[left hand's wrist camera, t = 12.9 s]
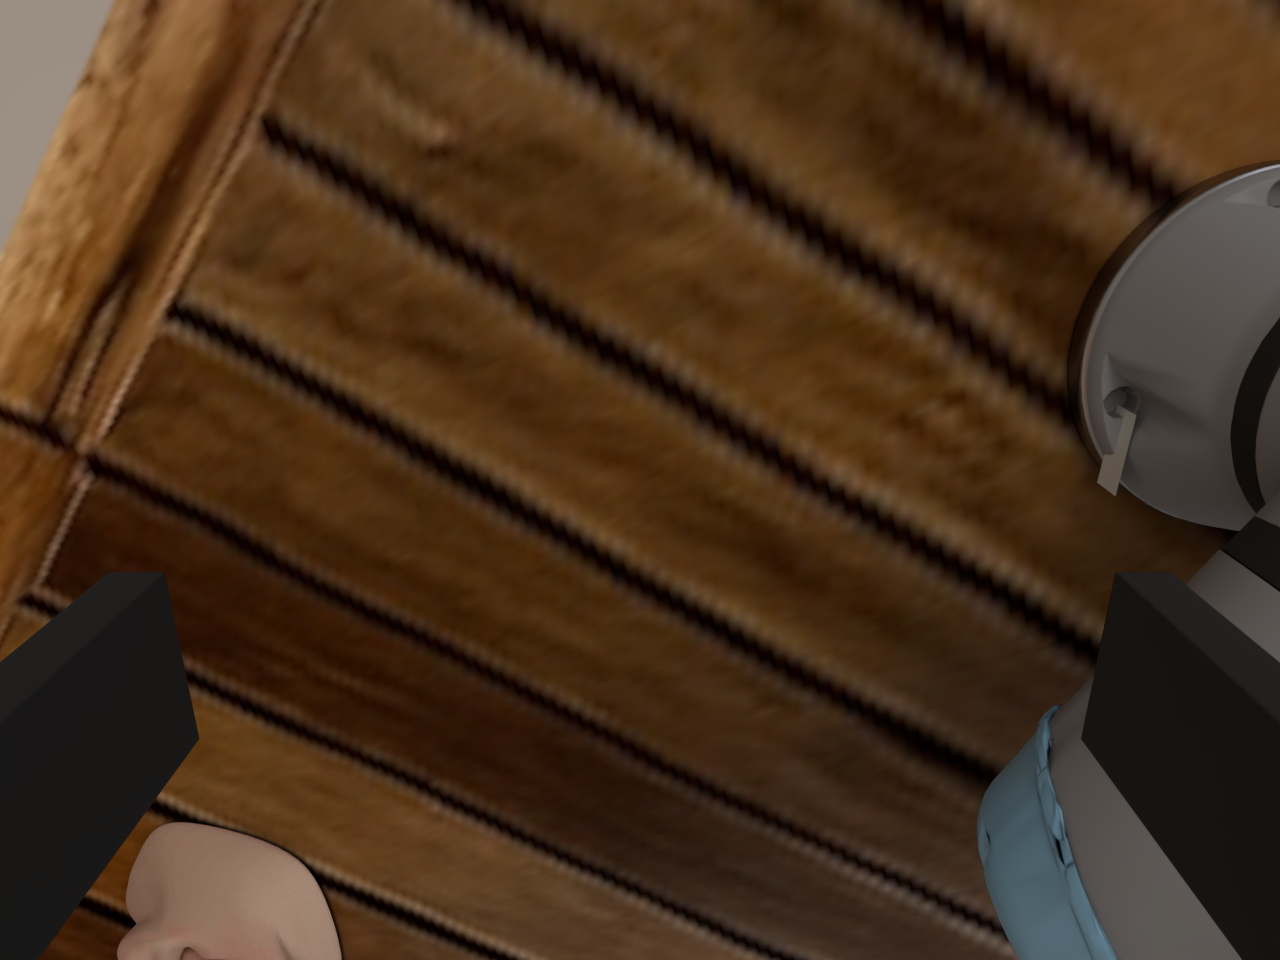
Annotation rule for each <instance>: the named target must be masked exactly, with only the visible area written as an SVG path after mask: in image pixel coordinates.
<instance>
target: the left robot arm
mask: <svg viewBox="0 0 1280 960" xmlns="http://www.w3.org/2000/svg"><path fill="white" fill-rule="evenodd" d="M1068 377H1069V394H1070V401H1071V407H1072V411H1073V415H1074V419H1075V422H1076V425H1077V428H1078V430H1079V433H1080V435H1081V438H1082V439H1083V441H1084V443H1085V445H1086V447H1087V449H1088V450H1089V452H1090V453H1091V455H1092V456H1093V458H1094V459H1095V460H1096V462H1097V463H1098V464H1099V465H1100V466H1101V470H1100V474H1099V478H1098V482H1097V483H1098V484H1100V485H1101V486H1102V487H1104V488H1105V489H1106V490H1108V491H1109V492H1110V493H1112V494H1113V495H1114V496H1116V493H1117V489H1118V485H1119V484H1120V485H1121V486H1123V487H1124V488H1125V489H1127V490H1128V491H1130V492H1131V493H1132V494H1134V495H1135V496H1136V497H1138V498H1139V499H1141V500H1142V501H1144V502H1145V503H1147V504H1148V505H1150V506H1152V507H1154V508H1156V509H1158V510H1160V511H1161V512H1164V513H1166V514H1169V515H1171V516H1174V517H1177V518H1180V519H1184V520H1187V521H1190V522H1194V523H1198V524H1201V525H1207V526H1212V527H1218V528H1224V529H1230V530H1236V531H1239V532H1238V533H1237V534H1236V535H1235V536H1234V537H1233V538H1232V539H1231V540H1230V541H1229V542H1228V543H1227V544H1226V545H1225V546H1224V547H1223V548H1221V550H1218V551H1217V552H1216V553H1215V554H1214V555H1213V556H1212V557H1211V558H1210V559H1209V560H1208V561H1207V562H1206V563H1205V564H1204V565H1203V566H1202V568H1201V569H1200V570H1199V571H1198V572H1197V573H1196V574H1195V575H1194V576H1193V577H1192V578H1191V579H1190V580H1189V581H1188V582H1187V583H1186V584H1184V583H1183V582H1182V581H1181V580H1179V579H1178V578H1177V577H1176V576H1175V575H1173V574H1172V573H1115V577H1114V582H1113V587H1112V592H1111V596H1110V601H1109V606H1108V611H1107V616H1106V620H1105V625H1104V630H1103V635H1102V639H1101V644H1100V649H1099V654H1098V659H1097V663H1096V668H1095V673H1094V675H1093V676H1092V677H1091V678H1090V679H1089V680H1088V681H1087V682H1086V683H1085V684H1084V685H1083V686H1082V687H1081V688H1080V689H1079V690H1078V691H1077V692H1076V693H1075V694H1074V695H1073V696H1072V697H1071V698H1070V699H1069V700H1068V701H1067V702H1066V703H1065V704H1064V705H1059V706H1054V705H1053V706H1052V707H1051V708H1050V709H1049V710H1048V711H1047V712H1045V713H1044V715H1043V716H1042V717H1041V719H1040V721H1039V723H1038V725H1037V730H1036V733H1035V734H1034V735H1033V736H1032V737H1031V739H1030V740H1029V741H1028V742H1027V743H1026V744H1025V745H1024V746H1023V748H1022V749H1021V750H1020V751H1019V752H1018V753H1017V754H1016V755H1015V757H1014V758H1013V759H1012V760H1011V761H1010V762H1009V763H1008V764H1007V766H1006V767H1005V768H1004V769H1003V770H1002V771H1001V772H1000V773H999V775H998V776H997V777H996V778H995V779H994V780H993V781H992V783H991V784H990V786H989V787H988V789H987V790H986V792H985V794H984V797H983V799H982V802H981V806H980V809H979V814H978V820H977V837H978V850H979V854H980V858H981V861H982V864H983V867H984V876H985V883H986V886H987V889H988V892H989V895H990V897H991V900H992V903H993V905H994V908H995V910H996V913H997V915H998V918H999V920H1000V922H1001V925H1002V927H1003V929H1004V931H1005V933H1006V935H1007V938H1008V940H1009V942H1010V944H1011V945H1012V947H1013V949H1014V951H1015V953H1016V955H1017V957H1018V959H1019V960H1280V160H1275V161H1267V162H1260V163H1256V164H1251V165H1247V166H1243V167H1239V168H1236V169H1233V170H1230V171H1227V172H1224V173H1221V174H1219V175H1217V176H1214V177H1212V178H1209V179H1207V180H1205V181H1203V182H1201V183H1199V184H1197V185H1195V186H1193V187H1191V188H1190V189H1188V190H1186V191H1184V192H1183V193H1181V194H1180V195H1178V196H1177V197H1175V198H1173V199H1172V200H1170V201H1169V202H1168V203H1166V204H1165V205H1164V206H1162V207H1161V208H1160V209H1158V210H1157V211H1156V212H1154V213H1153V214H1152V215H1151V216H1150V217H1149V218H1147V219H1146V220H1145V221H1144V222H1143V223H1142V224H1141V225H1140V226H1138V227H1137V228H1136V230H1135V231H1134V232H1133V233H1132V234H1131V235H1130V236H1129V237H1128V238H1127V239H1126V240H1125V241H1124V242H1123V243H1122V245H1121V246H1120V247H1119V248H1118V250H1117V251H1116V252H1115V253H1114V254H1113V256H1112V257H1111V258H1110V260H1109V261H1108V263H1107V264H1106V266H1105V267H1104V269H1103V270H1102V272H1101V273H1100V275H1099V276H1098V278H1097V280H1096V282H1095V283H1094V285H1093V287H1092V289H1091V291H1090V293H1089V295H1088V297H1087V299H1086V301H1085V304H1084V306H1083V308H1082V311H1081V314H1080V317H1079V319H1078V322H1077V325H1076V329H1075V333H1074V337H1073V341H1072V346H1071V352H1070V359H1069V376H1068ZM1238 562H1239V563H1238ZM1245 567H1246V568H1245ZM1248 569H1249V570H1248ZM1252 572H1253V573H1252ZM198 740H199V735H198V730H197V726H196V721H195V716H194V711H193V706H192V702H191V697H190V692H189V687H188V683H187V678H186V673H185V668H184V663H183V659H182V654H181V649H180V644H179V639H178V635H177V630H176V625H175V620H174V616H173V611H172V606H171V601H170V596H169V592H168V587H167V582H166V577H165V573H108V574H107V575H105V576H104V577H103V578H102V579H101V580H99V581H98V582H97V583H96V584H95V585H93V586H92V587H91V588H90V589H89V590H87V591H86V592H85V593H84V594H82V595H81V596H80V597H79V598H78V599H76V600H75V601H74V602H73V603H72V604H70V605H69V606H68V607H67V608H65V609H64V610H63V611H62V612H61V613H59V614H58V615H57V616H56V617H55V618H53V619H52V620H51V621H50V622H49V623H47V624H46V625H45V626H44V627H42V628H41V629H40V630H39V631H38V632H36V633H35V634H34V635H33V636H32V637H30V638H29V639H28V640H27V641H25V642H24V643H23V644H22V645H21V646H19V647H18V648H17V649H16V650H15V651H13V652H12V653H11V654H10V655H8V656H7V657H6V658H5V659H4V660H2V661H1V662H0V960H38V959H39V958H40V956H41V955H42V954H43V952H44V951H45V950H46V948H47V947H48V945H49V944H50V943H51V941H52V940H53V939H54V937H55V936H56V934H57V933H58V932H59V930H60V929H61V928H62V926H63V925H64V924H65V922H66V921H67V919H68V918H69V917H70V915H71V914H72V913H73V911H74V910H75V908H76V907H77V906H78V904H79V903H80V902H81V900H82V899H83V897H84V896H85V895H86V893H87V892H88V891H89V889H90V888H91V886H92V885H93V884H94V882H95V881H96V880H97V878H98V877H99V876H100V874H101V873H102V871H103V870H104V869H105V867H106V866H107V865H108V863H109V862H110V860H111V859H112V858H113V856H114V855H115V854H116V852H117V851H118V849H119V848H120V847H121V845H122V844H123V843H124V841H125V840H126V839H127V837H128V836H129V834H130V833H131V832H132V830H133V829H134V828H135V826H136V825H137V823H138V822H139V821H140V819H141V818H142V817H143V815H144V814H145V812H146V811H147V810H148V808H149V807H150V806H151V804H152V803H153V802H154V800H155V799H156V797H157V796H158V795H159V793H160V792H161V791H162V789H163V788H164V786H165V785H166V784H167V782H168V781H169V780H170V778H171V777H172V775H173V774H174V773H175V771H176V770H177V769H178V767H179V766H180V764H181V763H182V762H183V760H184V759H185V758H186V756H187V755H188V754H189V752H190V751H191V749H192V748H193V747H194V745H195V744H196V743H197V741H198Z"/></svg>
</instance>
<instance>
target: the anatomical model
mask: <svg viewBox="0 0 1280 960" xmlns="http://www.w3.org/2000/svg"><path fill="white" fill-rule="evenodd" d="M126 905H127V908H128V911H129V913H130V915H131V917H132V918H133V920H134V921H135V922H136V923H137V924H136V925H135V926H134V927H133V928H132V929H131V930H130V931H129V932H128V933H127V934H126V936H125V937H124V938H123V939H122V940H121V942H120V944H119V947H118V950H117V957H118V960H342V956H341V951H340V946H339V941H338V937H337V933H336V929H335V926H334V923H333V920H332V916H331V913H330V910H329V908H328V905H327V903H326V900H325V898H324V895H323V893H322V891H321V889H320V887H319V885H318V883H317V882H316V880H315V879H314V877H313V876H312V874H311V873H310V871H309V870H308V869H307V868H306V867H305V866H304V865H303V864H302V863H301V862H300V861H299V860H298V859H296V858H295V857H293V856H292V855H291V854H289V853H288V852H286V851H284V850H282V849H280V848H278V847H276V846H274V845H272V844H270V843H267V842H265V841H263V840H260V839H257V838H254V837H251V836H248V835H245V834H241V833H238V832H234V831H231V830H227V829H222V828H218V827H213V826H209V825H202V824H195V823H188V822H172V823H168V824H164V825H161V826H160V827H158V828H156V829H155V830H154V831H153V832H152V833H151V834H150V835H149V837H148V838H147V840H146V841H145V843H144V844H143V846H142V848H141V851H140V853H139V855H138V857H137V859H136V861H135V863H134V865H133V868H132V870H131V874H130V877H129V882H128V887H127V892H126Z"/></svg>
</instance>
